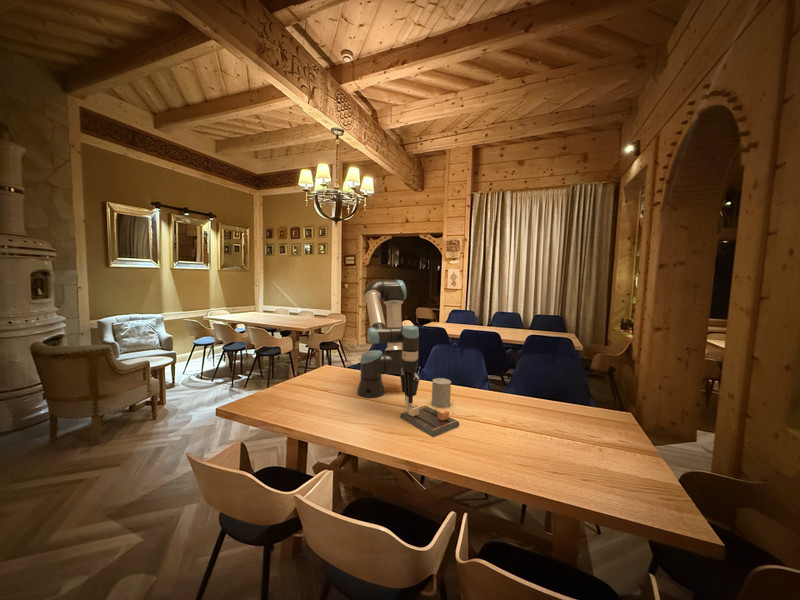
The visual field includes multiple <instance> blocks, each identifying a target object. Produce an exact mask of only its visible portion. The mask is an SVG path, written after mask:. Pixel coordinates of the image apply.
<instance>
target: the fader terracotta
mask: <svg viewBox="0 0 800 600" xmlns="http://www.w3.org/2000/svg"><path fill="white" fill-rule="evenodd" d="M449 417H450V411H449V410H448V409H446V408H442V409H440V410H438V419H440V420H442V421H443V420H446V419H448V418H449Z"/></svg>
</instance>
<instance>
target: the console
mask: <svg viewBox="0 0 800 600" xmlns="http://www.w3.org/2000/svg"><path fill="white" fill-rule="evenodd" d="M418 407H419V406H418ZM408 411H409V410H406V411H404V412H401V413H400V414H399V417H400V419H402V420H404V421H405V422H407V423H408V424H411V426H414V427H416V428H418V429H419V430H420V431H422V432H424V433H426V434H427V435H429V436H431V437H432V438H434V437H437V436H439V435H441V434H443V433H446V432H448V431H451V430H454V429H456V428H458V427H460V421H459V420H456V419H454V418H452V417H450V416H449V418H448V419H446V420H443V421H442V420H440V419H438V411H439V410H438V411H437V410H435V409H434V408H431V407H430V406H427V405H423V406H420V407H419V414H418V415H415V416H411V415H409V414H408Z"/></svg>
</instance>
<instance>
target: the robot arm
mask: <svg viewBox="0 0 800 600" xmlns="http://www.w3.org/2000/svg"><path fill="white" fill-rule="evenodd" d="M406 299H407V287H406V284H405V282H404V281H403V280H401V279H380V278H379V279H373V280H372V281H371V282H369V283H368V284H367V285H366V287H365V288H364V291H363V300H364V301H365V303H366V307H367V313H368V314H367V315H368V320H369V326H370V327H369V328H367V341H368V343H369V344H387V345H386V346H387V347H386V348H385V349H384V352H383V351H382V350H379V349H378V350H376V349H373V350H369V351H365V352H362V354H361V356H360V379H359V380H360V381H359V383H358V385H357V389H356V393H357V395H358V396H360V397H362V398H366V399H367V398H368V399H371V398H378V397H382V396H383V395H384V394H385V387H384V383H383V380H382V375H397V374H398V375H399V377H400V384H401V385H400V386H401V392H402V393H403V394H404V395H405V396H404V401H405V410H406V411H409V407H411V406H413V401H414V399H413V397H414V396H417V392H418V388H419V383H420V380H421V376H419V375H418V373H417V369H418V368H419V339H420V338H419V337H420V333H419V332H420V331H419V329H420V328H419V327H418V326H417V325H405V326H404V325H403V323H402V304H403V303H404V301H405V300H406ZM381 300H383V304H384V305H385V306H386V320H385V317H384V312H383V308H382V303H381Z"/></svg>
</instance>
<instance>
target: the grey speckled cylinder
mask: <svg viewBox="0 0 800 600" xmlns="http://www.w3.org/2000/svg"><path fill="white" fill-rule="evenodd" d="M431 387H432V389H431V391H432V392H431V405H432V406H433V407H435V408H437V409H446V408H449V407H450V406H451V390H452V388H451V387H452V381H451V380H450V379H448V378H444V377H437V378H434V379H433V378H432V386H431Z"/></svg>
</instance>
